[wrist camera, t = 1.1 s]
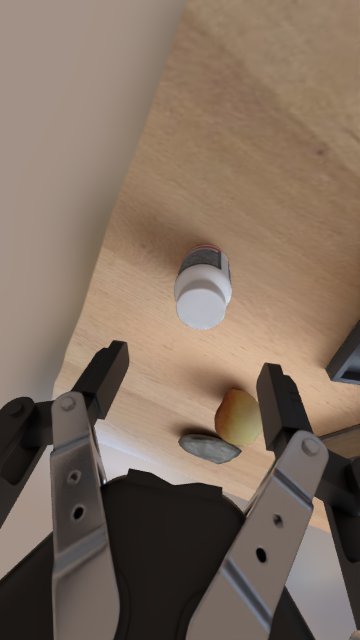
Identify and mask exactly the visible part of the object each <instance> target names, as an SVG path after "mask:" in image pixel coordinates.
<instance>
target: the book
mask: <svg viewBox="0 0 360 640" xmlns="http://www.w3.org/2000/svg"><path fill="white" fill-rule="evenodd" d="M319 439H320V440H321V441H322V442H323V443H324V445H325V446H326V448H327V449H329V450H331V451H332V452H334V453H336V454H338V455H341V456H343V457H345V458H347V459H349V460H351V461H353V460H355V459H356V458H360V425H357V426H354V427H350V428H347V429H344V430H341V431H338V432H335V433H332V434H329V435H326V436H323V437H320V438H319Z"/></svg>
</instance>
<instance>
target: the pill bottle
mask: <svg viewBox="0 0 360 640" xmlns="http://www.w3.org/2000/svg"><path fill="white" fill-rule="evenodd" d="M231 294H232V286H231V277H230V267H229V262H228V259H227V257H226V255H225V254H224V253H223V252H222V251H221V250H220V249H219V248H217V247H215V246H212V245H200V246H197V247H195V248H193V249H191V250H190V251H189V252H188V253H187V254H186V256H185V258H184V260H183V262H182V265H181V268H180V271H179V273H178V276H177V279H176V282H175V285H174V296H175V299H176V302H177V304H176V311H177V314H178V317H179V318H180V320H181V321H182V322H183V323H184V324H186V325H187V326H189V327H191V328H195V329H209V328H212V327H214V326H216V325H217V324H219V323H220V322H221V321H222V319H223V317H224V315H225V311H226V306H227V305H228V303H229V301H230V299H231Z"/></svg>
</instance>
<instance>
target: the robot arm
mask: <svg viewBox="0 0 360 640" xmlns="http://www.w3.org/2000/svg"><path fill="white" fill-rule="evenodd" d="M128 367H129V353H128V345H127V342H123V341H117V340H113V341H112V343H111V344H110V346H109V347H108V348H102V349H101V350H100V351H98V352H97V353H96V354H95V356H94V357H93V359H92V360H91V362H90V363H89V364H88V367H86V369H85V370H84V372H83V373H82V375H81V376H80V378H79V379H78V381H77V382H76V384H75V385H74V387H73V388H72V390H71V391H70V392H66V393H64V394H62V395H60V396H59V397H58V398H57V399H56V400H53V401H46V402H39V403H34V401H33V400H32V399H31V398H29V397H20V398H16V399H14V400H12V401H10V402H8V403H7V404H6V405H5V406H3V407H2V409H1V410H0V528H1V527H2V525H3V523H4V521H5V520H6V518H7V516H8V514H9V513H10V511H11V509H12V507H13V505H14V504H15V502H16V500H17V498H18V497H19V495H20V493H21V491H22V490H23V488H24V486H25V484H26V482H27V481H28V479H29V477H30V475H31V474H32V472H33V470H34V468H35V466H36V465H37V463H38V461H39V459H40V458H41V456H42V454H43V452H44V451H45V449H46V447H47V445H52V444H53V445H54V448H53V451H52V452H51V453H50V474H51V495H52V496H51V497H52V519H53V531H52V532H51V533H50V534H49V535H48V536H47V537H46V538H45V539H44V540H43V541H42V542H40V543H39V544H38V545H37V546H36V547H35V548H34V549H33V550H32V551H31V552H30V553H29V554H28V555H26V556H25V557H24V558H23V559H22V560H21V561H20V562H19V563H18V564H17V565H16V566H15V567H14V568H13V569H11V570H10V571H9V572H8V573H7V574H6V575H5V576H4V577H3V578H2V579H1V580H0V640H315V638H314V636H313V634H312V633H311V631H310V629H309V627H308V625H307V624H306V622H305V620H304V618H303V617H302V615H301V613H300V611H299V609H298V608H297V606H296V604H295V602H294V601H293V599H292V597H291V595H290V593H289V592H288V590H287V588H286V586H285V583H286V581H287V578H288V575H289V573H290V570H291V568H292V565H293V562H294V560H295V557H296V555H297V552H298V549H299V547H300V544H301V541H302V539H303V536H304V534H305V530H306V529H307V526H308V523H309V521H310V518H311V515H312V513H313V508H314V505H313V504H312V500H313V497H314V496H315V497H316V498H318V499H320V500H322V501H323V503H324V506H325V510H326V514H327V518H328V522H329V525H330V529H331V533H332V537H333V540H334V544H335V548H336V552H337V556H338V559H339V563H340V567H341V571H342V575H343V578H344V582H345V586H346V590H347V593H348V597H349V601H350V605H351V609H352V613H353V616H354V620H355V624H356V628H357V631H355V632H353V633H352V635H351V636H350V638H349V640H360V458H356V459H355V460H353V461H351V460H349V459H347V458H345V457H343V456H341V455H338V454H336V453H334V452H332V451H331V450H329V449H327V448H326V446H325V445H324V443H323V442H322V441H321V440H320V439H319V438H318V437H317V436H316V435H314V433H313V431H312V428H311V426H310V423H309V420H308V417H307V414H306V411H305V409H304V406H303V403H302V402H301V401H302V400H301V397H300V395H299V392H298V389H297V386H296V384H295V382H294V381H293V380H292V379H291V377H290V376H288V375H283V371H282V368H281V366H280V365H279V364H272V363H264V365H263V368H262V370H261V372H260V375H259V377H258V380H257V385H256V390H257V396H258V402H259V408H260V414H261V420H262V426H263V432H264V438H265V444H266V450H268V451H273V452H274V454H275V460H274V462H273V463H272V465H271V467H270V468H269V470H268V472H267V473H266V475H265V477H264V478H263V480H262V482H261V483H260V485H259V487H258V488H257V490H256V492H255V493H254V495H253V496H252V498H251V499H250V501H249V502H248V504H247V506H246V507H245V509H244V511H243V512H242V511H241V510H240V508H239V507H238V506H237V505H236V504H235V503H234V502H233V501H232V500H230V499H229V498H228V497H226V496H225V495H223V494H222V487H218V486H213V485H209V484H204V483H190V484H181V485H172V484H170V483H168V482H167V481H165V480H163V479H161V478H160V477H158V476H156V475H154V474H152V473H150V472H145V471H140V470H135V469H129V471H128V474H127V475H123V476H119V477H116V478H114V479H112V480H110V481H108V482H107V478H106V474H105V471H104V467H103V463H102V459H101V455H100V450H99V445H98V441H97V436H96V432H95V427H94V425H95V423H96V421H97V419H103V420H105V417H106V415H107V413H108V411H109V409H110V407H111V404H112V402H113V400H114V398H115V396H116V394H117V391H118V389H119V387H120V385H121V383H122V381H123V378H124V376H125V374H126V372H127V370H128Z"/></svg>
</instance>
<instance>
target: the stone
mask: <svg viewBox="0 0 360 640" xmlns="http://www.w3.org/2000/svg"><path fill="white" fill-rule="evenodd" d="M178 443H179V445H180V446H181V447H182V448H183V449H184V450H185V451H187V452H188V453H190V454H193V455H195V456H197V457H200V458H203V459H205V460H209V461H211V462H214V463H216V464H222V463H226V462H229V461H231V460H232V459H233V458H236V457H237V456H238V455H239V454H240V453H241V452H242V451H241V450H240V449H239V448H237V447H236V446H234V445H233V444H230V443H228V442H226V441H224V440H221V439H218V438H214V437H210V436H206V435H200V434H189V435H185V436H182V437H181V438H180V439H179V441H178Z"/></svg>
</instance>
